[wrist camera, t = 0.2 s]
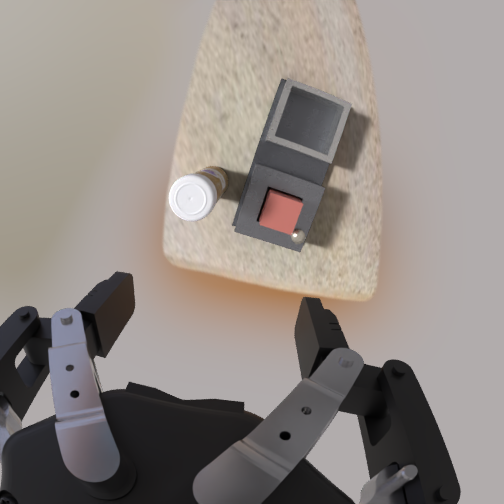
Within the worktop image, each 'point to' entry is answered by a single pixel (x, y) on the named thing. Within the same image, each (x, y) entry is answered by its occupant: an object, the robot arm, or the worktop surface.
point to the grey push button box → (292, 158)
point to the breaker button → (280, 211)
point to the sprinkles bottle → (197, 193)
